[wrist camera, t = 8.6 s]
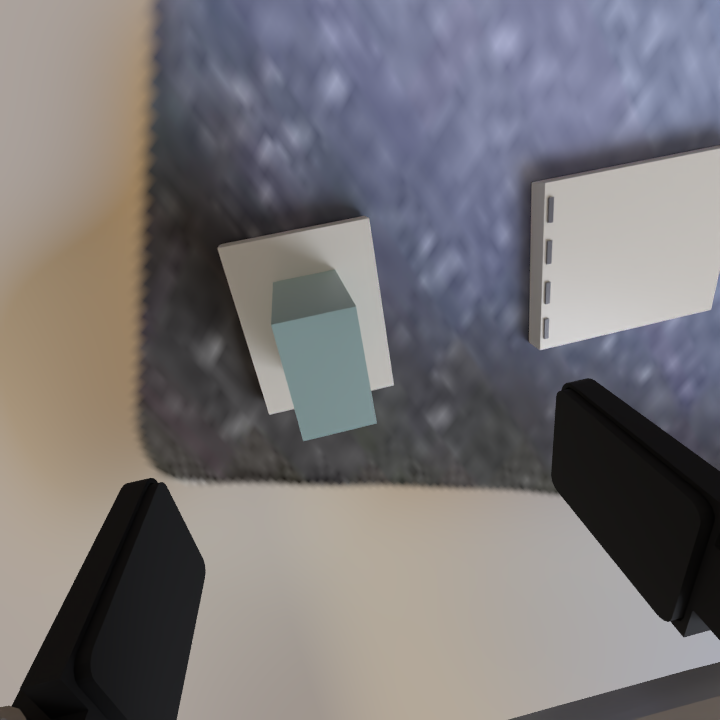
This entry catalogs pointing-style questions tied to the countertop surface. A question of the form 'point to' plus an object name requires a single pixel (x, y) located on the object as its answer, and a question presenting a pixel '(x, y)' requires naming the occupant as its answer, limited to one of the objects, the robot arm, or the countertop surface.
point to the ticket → (623, 246)
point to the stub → (313, 322)
